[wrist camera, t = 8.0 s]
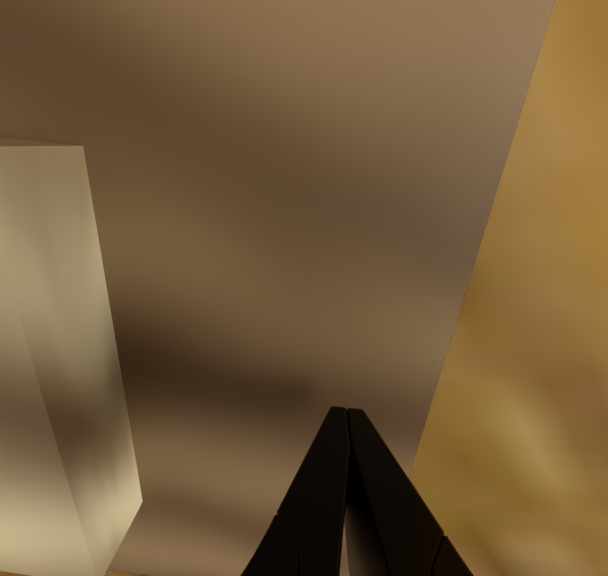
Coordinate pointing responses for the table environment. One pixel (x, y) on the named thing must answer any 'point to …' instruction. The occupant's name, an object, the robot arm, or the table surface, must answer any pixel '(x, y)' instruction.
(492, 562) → the table surface
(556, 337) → the table surface
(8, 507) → the maple plate
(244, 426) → the bench board
